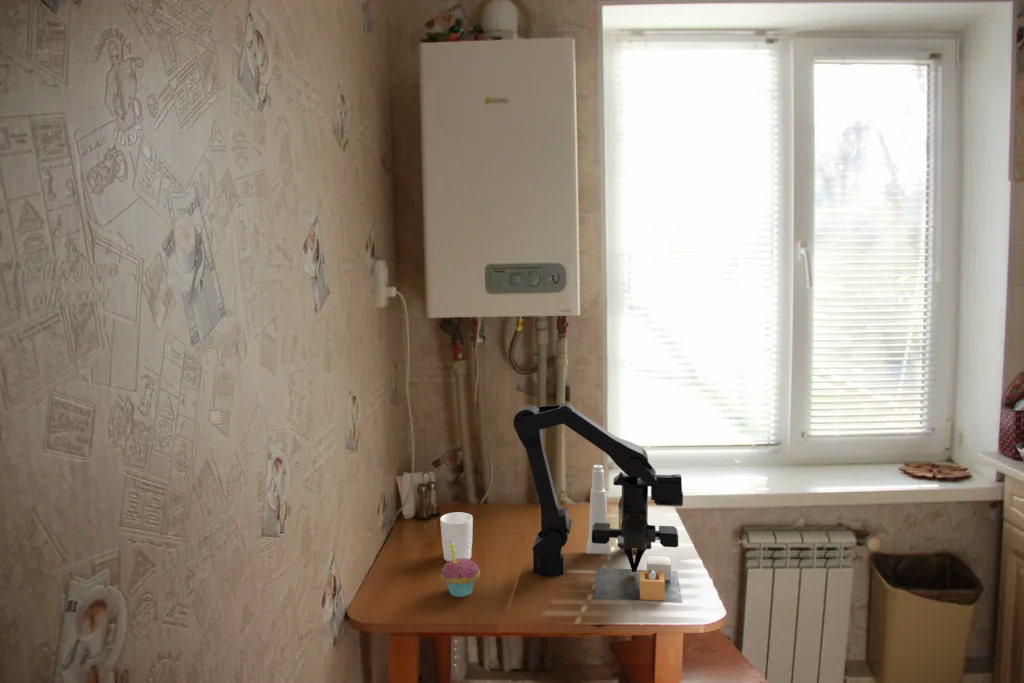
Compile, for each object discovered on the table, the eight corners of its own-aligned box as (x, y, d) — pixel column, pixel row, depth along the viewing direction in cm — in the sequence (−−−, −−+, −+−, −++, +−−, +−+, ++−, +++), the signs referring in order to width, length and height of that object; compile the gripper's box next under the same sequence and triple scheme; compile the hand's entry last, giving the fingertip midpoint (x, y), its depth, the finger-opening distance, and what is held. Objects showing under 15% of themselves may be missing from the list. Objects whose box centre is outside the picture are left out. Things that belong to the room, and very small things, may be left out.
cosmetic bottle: (599, 546, 179) (599, 461, 177) (616, 554, 174) (615, 466, 172) (581, 552, 176) (580, 465, 173) (597, 560, 171) (596, 471, 168)
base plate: (594, 603, 149) (593, 574, 149) (596, 572, 164) (596, 546, 163) (682, 608, 146) (682, 579, 146) (677, 576, 161) (677, 550, 160)
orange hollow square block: (640, 599, 148) (640, 580, 148) (639, 588, 153) (639, 570, 153) (664, 600, 147) (664, 582, 147) (663, 589, 152) (663, 571, 152)
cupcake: (448, 604, 150) (446, 549, 149) (436, 587, 158) (434, 535, 157) (486, 596, 154) (485, 542, 152) (472, 580, 161) (471, 529, 160)
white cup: (459, 548, 180) (458, 509, 179) (480, 557, 174) (479, 517, 173) (434, 557, 174) (433, 518, 173) (455, 567, 169) (454, 526, 168)
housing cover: (647, 578, 157) (647, 563, 157) (646, 570, 161) (647, 555, 161) (670, 579, 156) (670, 565, 156) (669, 571, 160) (669, 556, 160)
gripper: (590, 514, 151) (590, 585, 153) (680, 518, 148) (679, 590, 150) (592, 497, 162) (592, 563, 164) (676, 501, 159) (675, 568, 161)
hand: (634, 571), depth 159 cm, fingers closed
